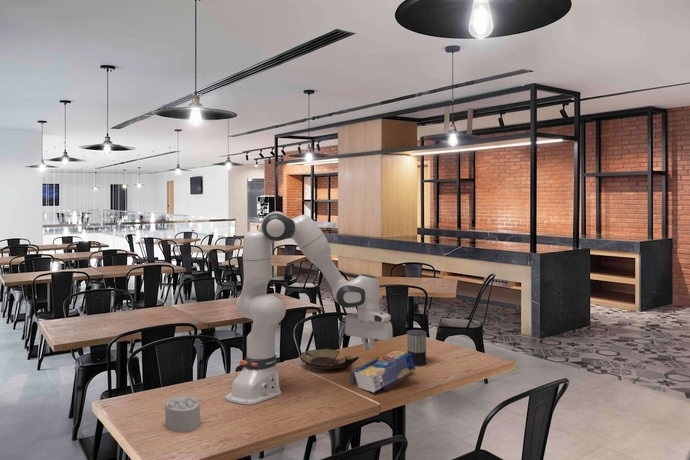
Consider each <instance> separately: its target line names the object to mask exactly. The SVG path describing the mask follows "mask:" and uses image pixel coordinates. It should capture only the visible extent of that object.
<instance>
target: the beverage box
mask: <svg viewBox="0 0 690 460" xmlns="http://www.w3.org/2000/svg"><path fill="white" fill-rule="evenodd" d="M413 371H416V366H414V362H413V358H412V354H410V353H408V352H404V351H402V350H401V351H400V350H395V349H394V350H393V351H392V350H391V352H389V353H387V354H385V355H382V356H381V357H380V358H379V359H377V360H375V361H373V362H372V363H370V364H368V365H366V366H364V367H362V368H360V369H358V370H356V371H354V373H355V377H356V380H357V382H356V384H357V387H358V388H359V389H362V390H366V391H368V392H372V393H376V392H378V391H380V390H382V389H384V387H385V386H387V385H389V384H391V383H392V382H394V381H396V380H398V379H399V378H401V377H403V376H405V375H407V374H408V373H410V372H412V373H413Z"/></svg>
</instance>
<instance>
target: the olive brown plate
mask: <svg viewBox="0 0 690 460" xmlns="http://www.w3.org/2000/svg"><path fill="white" fill-rule="evenodd" d="M339 354H340V351H339V350H336V349H331V348H330V349H329V348H321V349H320V348H319V349H311V350H309V349H308V350H306V351H303V352H301V354H300V355H299V356H300V357H299V359H300V361H301V362H302V363H304V364H306V365H308V366H309V367H312V368H316V369H320V370H333V369H339V368H343V369H347V368H349V367H351V365H353V364H354V363H355V362H357V361H358V360H359V358H360V357H359V356H355V357H352V356H351V355H346V356H343V357H342V358H341V357H340V358H339V359H337V360H336V358H337V357H338V356H339Z"/></svg>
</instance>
